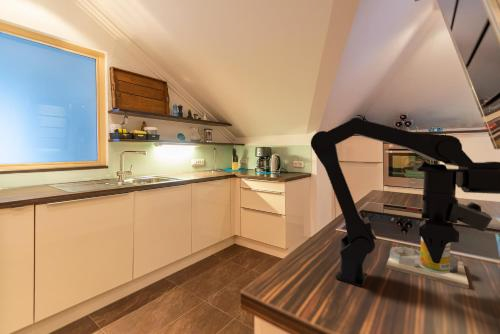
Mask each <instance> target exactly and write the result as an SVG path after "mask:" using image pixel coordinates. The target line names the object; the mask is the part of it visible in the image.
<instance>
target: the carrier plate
mask: <svg viewBox="0 0 500 334" xmlns="http://www.w3.org/2000/svg"><path fill="white" fill-rule="evenodd" d="M401 256H405V257H409V258H416V257H413V256H409V255H404V254H401ZM385 264H386V265H385V266H386V269H389V270H393V271H397V272H401V273H405V274H408V275H412V276H416V277H420V278H424V279H428V280H431V281H435V282H440V283H444V284H447V285H452V286H455V287H459V288H463V289H467V290H468V289H469V286H470V284H469V280H468V278H467V273H466V271H465V267H464V263H463V261H459V260H458V272H456V273H449V272H448V273H446V274H438V273H433V272H430V271H427V270H425V269H424V268H422V267H411V266H407V265H403V264H399V263H397V262H396V261H394V260H392V259H391V258H390V256H388V259H387V262H386V263H385Z"/></svg>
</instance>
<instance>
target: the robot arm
mask: <svg viewBox="0 0 500 334" xmlns="http://www.w3.org/2000/svg"><path fill="white" fill-rule="evenodd" d="M353 136H359V137H364V138H366V139H371V140H373V141H374V140H375V141H378V142H382V143H385V144H388V145H393V146H396V147H400V148H403V149H406V150H408V151H410V152H412V153H414V154H416V155H418V156H420V157H423V158H425V159H427V160H429V161H435V162H441V163H439V164H438V163H429V162H427V161H426V160H421V161H420V162H419V163H418V164H417V165H415V166H414V167H413V168H412V169H413V171H415V172H421V173H422V172H423V187H422V189H423V191H422V208H421V209H422V210H421V219H422V220H421V222H420V223H419V227H418V229H419V231H418V232H419V233H418V235H419V237H420V238H421V237H422V239H423V241H424V243H425V245H426V247H427V250H428V252H429V254H430V256H431V259H432V261H433V262H434V263H437V264H439V263H440V260H441V257H442V255H443V252H444V249H445V247H446V244H448V243H450V242H451V243H460V231H459V228H458V227H457V226H456V225H455V224H458V222H460V223H463V224H465V225H468V226H470V227H472V228H475V229H476V230H478V231H479V232H484V233H485V231H486V230H487V228H488V227H489V225H490V223H491V222H492V221H493V217H492V216H491V215H490V214H488V213H487V212H485V211H482V206H481V205H480V204H478V203H475V202H473V201H472V202H469V203H467V204H464V203H463V204H462V203H459V200H458V199H457V197H456V193H457V192H456V190H457V189H456V188H459V189H461V191H462V192H463V193H465V194H466V193H467V194H469V193H471V194H492V195H493V194H494V195H500V161H483V162H482V161H481V162H480V161H479V162H478V161H476V162H474V161H473V160H472V159H471V158H470V156H469V155H468V154H467V153H466V152H465V151H464V150H463V144H462V143H461V140H460V139H459V138H458V137H456V136H453V135H450V134H440V133H438V134H437V133H427V132H426V133H424V132H422V133H421V132H413V131H409V130H404V129H402V128H397V127H393V126H388V125H385V124H381V123H377V122H373V121H368V120H364V119H362V118H360V117H352V118H351V119H349V120H347V121H346V122H344V123H342V124H340V125H338V126H336V127H333V128H332V129H330V130H327V131H326V130H320V131H318V132H316V133H314V134H313V136H312V137H311V139H310V147H311V149H312V151H313V153H314V154H315V155H316V157H317V159H318V160H319V162H320V163H321V164H322V166H323V167H324V170H325V172H326V175H327V178H328V179H329V181H330V182H329V183H330V184H331V187H332V190H333V192H334V195H335V197H336V200H337V203H338V206H339V208H340V210H341V213H342V215H343V218H344V224H345V230H346V235H344V236H343V237H342V238H341V239H339V270H338V272H337V273H336V274H335V279H337V280H339V281H342V282H344V283H349V284H352V285H355V286H356V287H357V286H359V287H363V286H364V284H365V282H366V280H367V278H368V273H365V260H366V257H367V255H369V254H371V253H372V252H373V251H374V249H375V247H376V243H375V241H376V240H377V236H376V234H375V231H374V229H373V228H372V226H371V225H372V224H371V222H370V219H369V217H368V216H365V217H364V218H363V217H362V216H361V214H360V212H359V210H358V209H357V204H356V203H355V201H354V197H353V196H352V195H353V194H352V193H351V190H350V188H349V185H348V183H347V179H346V178H345V175H344V174H345V173H344V172H343V169H342V168H341V164H340V161H339V154H338V149H337V145H339V144H340V143H342V142H343V141H346V140H347V139H349V138H352V137H353ZM446 165H447V166H455V167H458V168H447V166H446Z"/></svg>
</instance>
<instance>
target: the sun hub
mask: <svg viewBox="0 0 500 334" xmlns="http://www.w3.org/2000/svg"><path fill="white" fill-rule="evenodd" d="M458 261H459V258H457V257H456V256H453V255H451V254H450V269H449V273H456V272H458Z"/></svg>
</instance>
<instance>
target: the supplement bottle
mask: <svg viewBox="0 0 500 334" xmlns="http://www.w3.org/2000/svg"><path fill="white" fill-rule="evenodd" d="M451 243H452V242H450V243H448V244H446V247H445V249H444V252H443V255H442V257H441V260H440V263H439V264H437V263H434V262H433V261H432V259H431V256H430V254H429V252H428V250H427V247H426V245H425V243H424V241H423V239H422V237H421V236H420V250H419V251H420V265H421V267H422V268H424V269H425V270H427V271H430V272H433V273H438V274H446V273H448V272H449V269H450V255H451V245H452V244H451Z"/></svg>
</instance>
